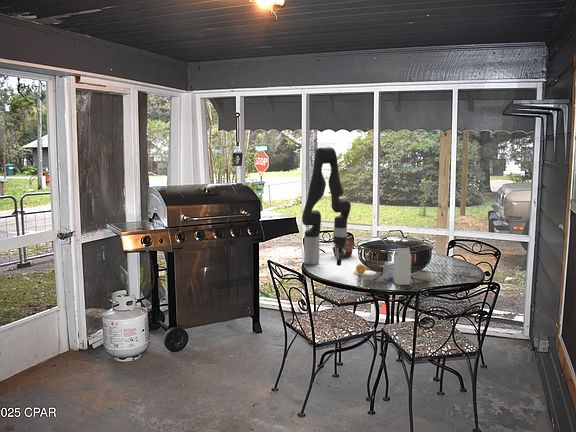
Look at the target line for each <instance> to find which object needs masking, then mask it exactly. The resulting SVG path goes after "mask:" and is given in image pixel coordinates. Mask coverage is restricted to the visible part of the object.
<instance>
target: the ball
mask: <svg viewBox="0 0 576 432" xmlns="http://www.w3.org/2000/svg"><path fill="white" fill-rule="evenodd" d="M366 270H367V267H366V265H364V264H363V263H358V264H357V265H356V267H355V271H357V272H358V273H359V274H363V273H364V272H365V271H366Z"/></svg>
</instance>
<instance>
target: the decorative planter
mask: <svg viewBox="0 0 576 432" xmlns="http://www.w3.org/2000/svg"><path fill="white" fill-rule="evenodd" d="M344 247H345V249H344V250H345V251H347V253H346V255H345V257H344V258H351V257H352V255H353V254H352V253H353V249H354V247H355V241H354V239H353V236H352V235H349V234H347V243H346V244H345V245H344Z"/></svg>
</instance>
